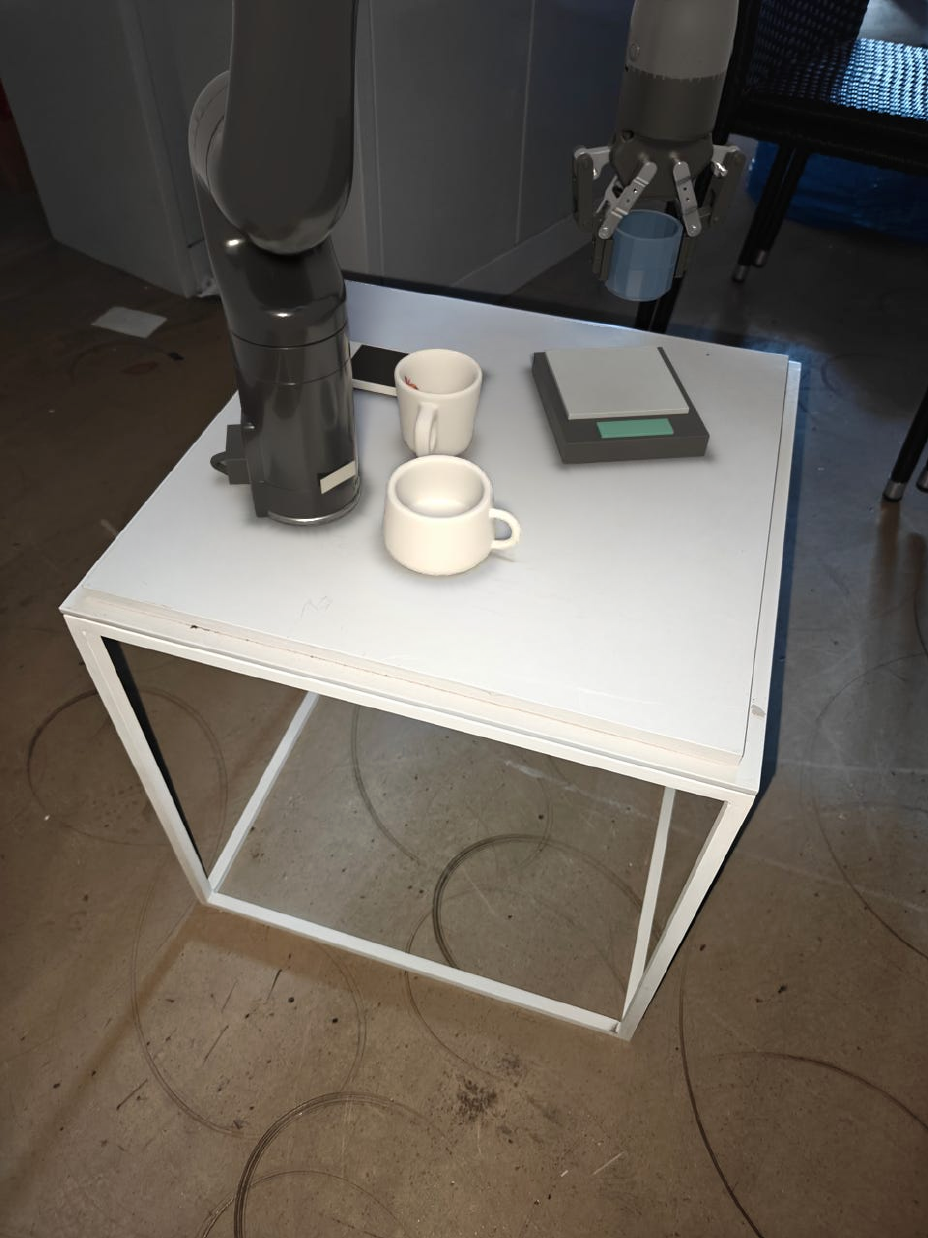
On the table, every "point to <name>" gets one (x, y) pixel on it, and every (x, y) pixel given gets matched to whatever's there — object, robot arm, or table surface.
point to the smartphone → (374, 367)
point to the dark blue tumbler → (644, 255)
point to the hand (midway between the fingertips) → (637, 274)
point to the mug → (442, 516)
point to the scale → (617, 405)
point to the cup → (438, 400)
